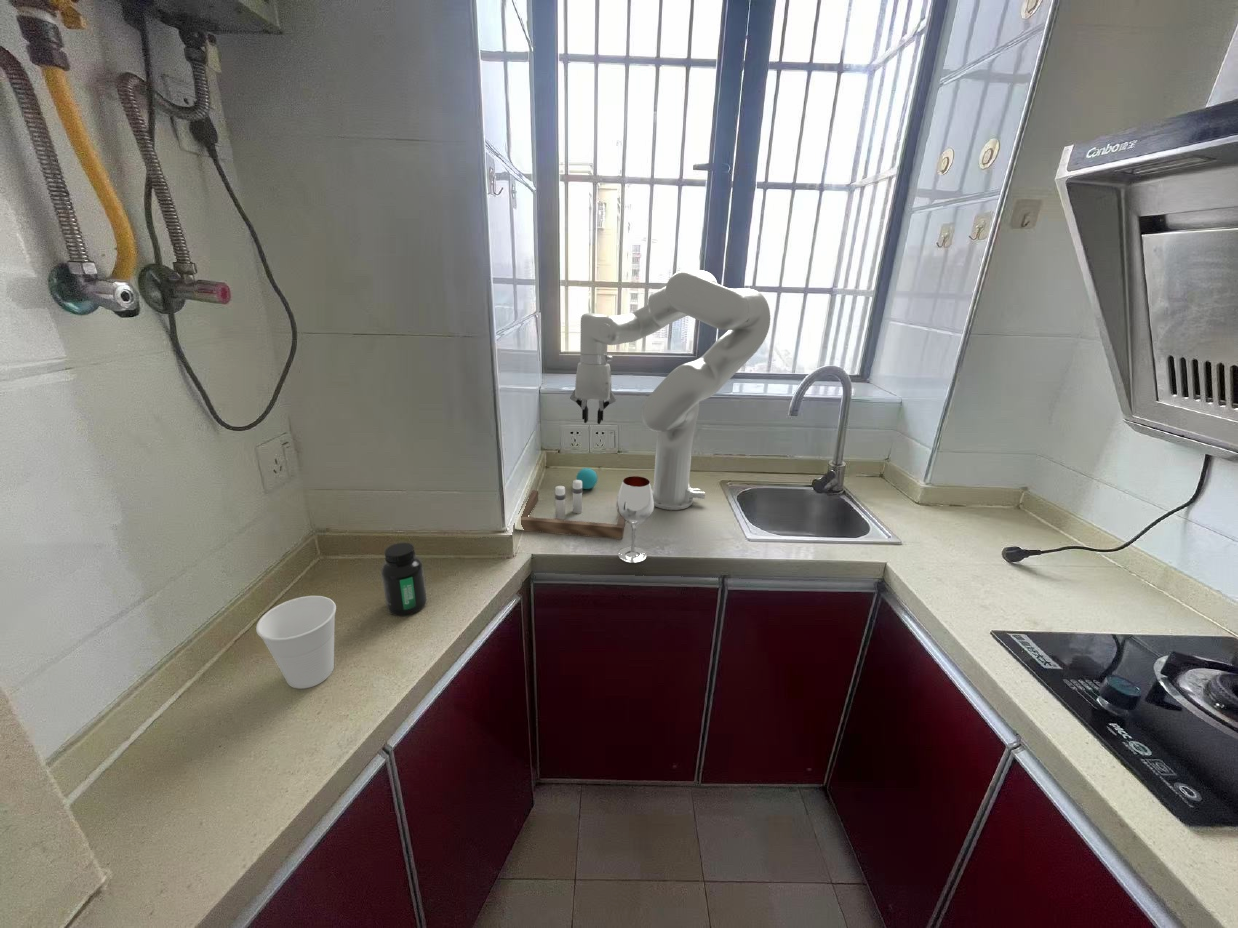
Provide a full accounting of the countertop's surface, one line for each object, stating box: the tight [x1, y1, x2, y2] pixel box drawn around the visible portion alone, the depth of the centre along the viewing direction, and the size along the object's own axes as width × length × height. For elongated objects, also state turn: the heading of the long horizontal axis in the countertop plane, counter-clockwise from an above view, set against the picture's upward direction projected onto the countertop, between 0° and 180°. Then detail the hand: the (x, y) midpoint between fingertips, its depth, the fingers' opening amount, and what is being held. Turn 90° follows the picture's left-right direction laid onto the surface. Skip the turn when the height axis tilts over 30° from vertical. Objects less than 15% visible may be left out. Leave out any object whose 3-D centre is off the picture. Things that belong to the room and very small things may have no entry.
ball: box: [575, 467, 598, 490], centre depth 143 cm, size 6×6×6 cm
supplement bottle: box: [380, 542, 427, 617], centre depth 90 cm, size 7×7×12 cm
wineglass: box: [615, 475, 655, 564], centre depth 108 cm, size 8×8×18 cm
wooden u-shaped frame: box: [521, 489, 627, 540], centre depth 126 cm, size 26×17×3 cm, turn 84°
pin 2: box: [572, 479, 583, 514], centre depth 129 cm, size 2×2×8 cm
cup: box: [255, 595, 337, 690], centre depth 74 cm, size 10×10×11 cm
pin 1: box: [554, 485, 566, 520], centre depth 125 cm, size 2×2×8 cm
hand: (592, 421), depth 147 cm, fingers open, 3 cm apart
